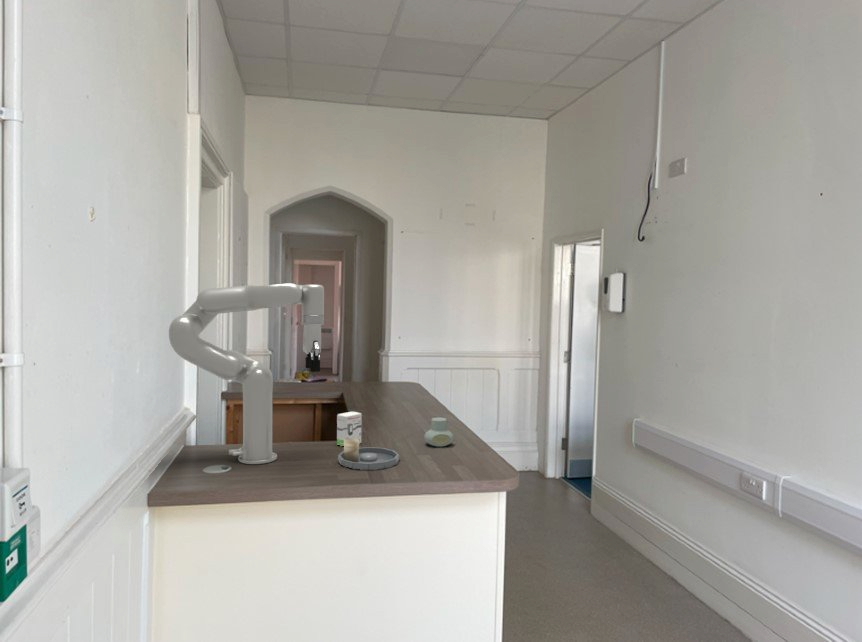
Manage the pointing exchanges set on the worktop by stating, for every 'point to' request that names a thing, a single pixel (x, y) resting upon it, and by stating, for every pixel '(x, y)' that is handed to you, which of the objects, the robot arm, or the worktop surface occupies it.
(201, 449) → the worktop surface
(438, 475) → the worktop surface
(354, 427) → the ink box
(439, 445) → the air freshener
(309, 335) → the robot arm
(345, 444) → the beige cylinder
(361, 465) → the ring tray
